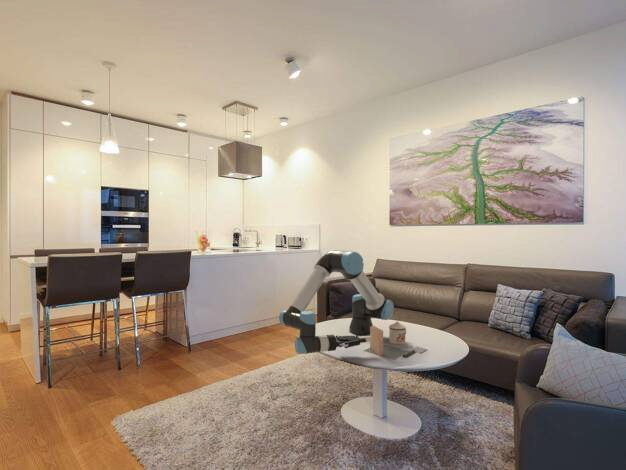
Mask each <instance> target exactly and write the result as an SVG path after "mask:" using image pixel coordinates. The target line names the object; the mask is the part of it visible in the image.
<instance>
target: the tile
mask: <svg viewBox="0 0 626 470" xmlns="http://www.w3.org/2000/svg"><path fill="white" fill-rule="evenodd" d="M369 336H371V342H369V348H370V350H372V351H373V352H375V353H376V354H377V356H380V355H383V344H384V330H382V329H381V328H379V327H377V326H375V325H373V326H370V334H369ZM376 354H375V355H376Z"/></svg>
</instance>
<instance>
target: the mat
mask: <svg viewBox="0 0 626 470" xmlns="http://www.w3.org/2000/svg"><path fill="white" fill-rule="evenodd" d="M363 352H366V353H369V354H373V355H377V354H376V353H375V352H373V351H372V350H370V347H368V348H366V349H364V350H363ZM408 352H410V350H407V349H403V348H399V347H395V346H392V345H391V346H390V345H387V344H384V343H383V355H379V356H380V357H384V358H388V359H391V360H396V359H398V358H401V357H403V355H404V354H406V353H408ZM377 356H378V355H377Z"/></svg>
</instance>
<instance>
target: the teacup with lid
mask: <svg viewBox="0 0 626 470" xmlns="http://www.w3.org/2000/svg"><path fill="white" fill-rule="evenodd" d="M388 328H389V335H388V340H389V343H391V344H394V345H405V344H406V335H407V329H406V326H405V325H404V324H401V323H400V322H399V321H395V323H392V324H389V326H388Z"/></svg>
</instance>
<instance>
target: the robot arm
mask: <svg viewBox="0 0 626 470" xmlns="http://www.w3.org/2000/svg"><path fill="white" fill-rule="evenodd" d="M332 273H340V274H341V275H342V276H343V277H344V279H346V280H347V281H350V282H351V283H352V285H353V286H354V287H355V289H356V290H357V292H358V293H359V294H354V295H353V296H352V298H351V299H352V300H351V308H352V309H351V313H352V314H351V317H352V319H351V320H350V324H349V327H348V331H349V332H350V333H351V334H353V335H335V334H326V335H325V334H324V335H316V329H317V327H316V322H317V319H316V313H315V311H311V310H310V311H309V310H307V308H308V306H309V304H311V301H312V300H313V299H314V297H315V295H316V294H317V292H318V291H319V289H320V288H321V286H322V284H323V283H324V281H325V280H326V278H328V277H330V276H331V274H332ZM393 302H394V301H392V300H390V299H386V298H385V296H384V295H383V294H382V293H379V292H378V291H377V289H376V287H374V284H373V283H372V282H371V281H370V279H369V278H368V276H367V275H366V274H365V272H364V259H363V256H362V255H361V254H360V253H359V252H357V251H353V250H336V249H335V250H330V251H327V252H326V253H325V254H324V255H323V256H321V257H320V259H319V260H318V261H317V262H316V263H315V265H314V267H313V271H312V272H311V274H310V275H309V277H308V279H307V280H306V282H305V283H304V285H303V286H302V288H301V289H300V291H299V292H298V293H297V295H296V296H295V298H294V300H293V301H292V302H291V305H290V306H289V307H288V309H284V310H282V311H281V312H280V313H279V315H278V322H279V323H280V324H281V325H283V326H285V327H288V328H291V329H292V328H293V329H294V330H299V336H298V337H296V338H295V339H294V350H295V352H296V354H298V355H305V354H306V355H307V354H312V353H313V354H316V353H320V354H322V353H323V352H332V351H333V352H334V351H336V350H337V348H342V347H344V349H348V348H352V347H355V346H356V347H357V346H360V345H361V344H363V343H370V342H371V336H370V326H374V324H373V320H372V318H373V319H379V320H382V321H383V320H384V321H388V320H390V318H391V317H392V316H393V313H394V309H395V308H394V303H393ZM358 335H359V336H358ZM360 335H361V336H360Z"/></svg>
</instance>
